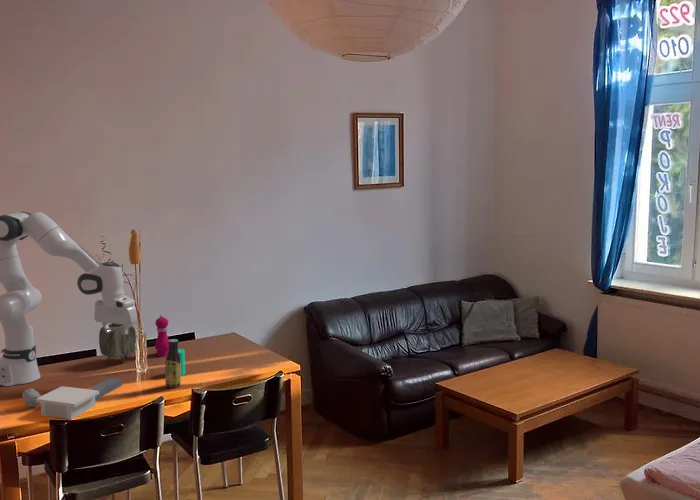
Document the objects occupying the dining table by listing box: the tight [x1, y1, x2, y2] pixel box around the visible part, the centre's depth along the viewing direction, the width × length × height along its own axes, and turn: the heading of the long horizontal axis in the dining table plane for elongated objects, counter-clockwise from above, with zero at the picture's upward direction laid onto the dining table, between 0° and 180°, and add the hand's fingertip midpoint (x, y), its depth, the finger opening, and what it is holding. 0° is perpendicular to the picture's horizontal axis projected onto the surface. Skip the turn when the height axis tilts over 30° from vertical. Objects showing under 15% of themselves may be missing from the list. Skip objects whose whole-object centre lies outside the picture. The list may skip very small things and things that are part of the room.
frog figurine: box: [21, 388, 42, 408], centre depth 256 cm, size 6×7×7 cm
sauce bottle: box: [164, 338, 182, 389], centre depth 278 cm, size 7×6×20 cm
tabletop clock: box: [98, 323, 137, 365], centre depth 307 cm, size 14×9×25 cm, turn 145°
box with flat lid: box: [36, 385, 99, 420], centre depth 252 cm, size 17×14×6 cm
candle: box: [178, 348, 186, 376], centre depth 294 cm, size 6×6×12 cm
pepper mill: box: [154, 314, 170, 357], centre depth 320 cm, size 7×7×20 cm
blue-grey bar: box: [88, 377, 123, 401], centre depth 272 cm, size 18×6×3 cm, turn 163°
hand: (116, 333), depth 280 cm, fingers open, 8 cm apart
